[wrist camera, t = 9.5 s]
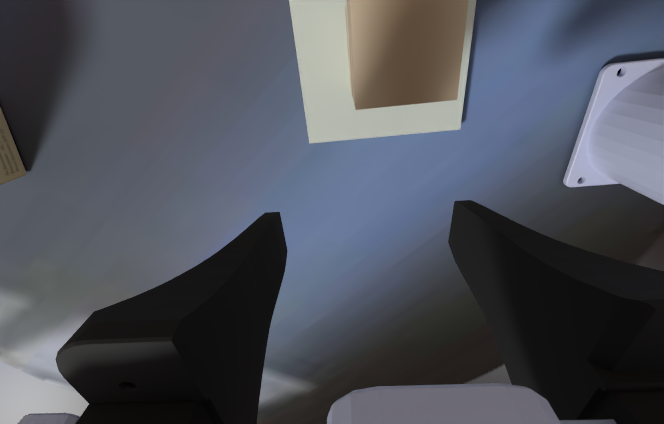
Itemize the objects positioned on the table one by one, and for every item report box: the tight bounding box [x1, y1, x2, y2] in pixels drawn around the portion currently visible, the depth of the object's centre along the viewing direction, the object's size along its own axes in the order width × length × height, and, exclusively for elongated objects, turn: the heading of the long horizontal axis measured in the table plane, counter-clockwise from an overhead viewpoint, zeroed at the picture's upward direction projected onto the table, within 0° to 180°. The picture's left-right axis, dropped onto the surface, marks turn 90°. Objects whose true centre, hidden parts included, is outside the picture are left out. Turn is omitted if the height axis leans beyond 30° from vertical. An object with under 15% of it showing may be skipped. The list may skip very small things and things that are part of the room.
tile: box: [289, 0, 476, 143], centre depth 17 cm, size 10×10×1 cm
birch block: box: [345, 0, 469, 110], centre depth 13 cm, size 4×4×7 cm
